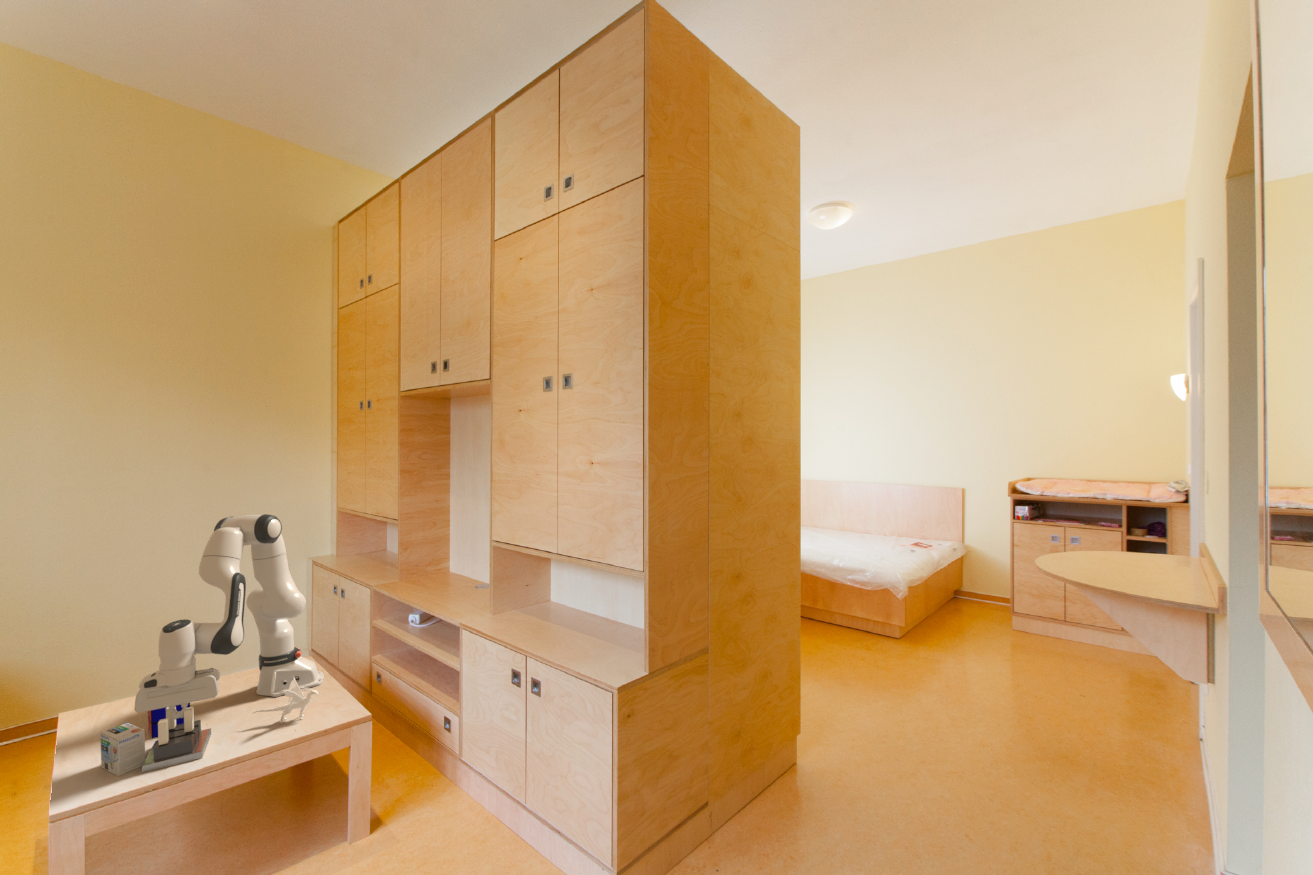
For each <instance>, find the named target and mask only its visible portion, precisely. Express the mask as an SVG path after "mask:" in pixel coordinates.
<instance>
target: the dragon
mask: <svg viewBox="0 0 1313 875" xmlns="http://www.w3.org/2000/svg"><path fill="white" fill-rule="evenodd" d="M301 688H304V689H300V688H299V686H298V684H297V682H296V680H295V678H294V679H293V680H292V682H291V684H290V687H289V690H286V692H285V695H284V696H285V697H288V698H289V699H288V702H286V703H285V704H282V705H279V706H276V707H271V708H270V707H269V708H264V709H259V710H258V709H257V710H255V711H253V712H252V713H251V715H252V714H254V713H255V714H256V713H263V712H264V713H268V712H280V711H283V712H282V713H281V716H280V722H281V723H286V721H287V720H288V718H287V717H285V716H287V715H289V714H290V713H291V712H292V711H293V709H300V711H299V716H298V718H299V719H300V720H303V719H304V717H305V715H304V714H303V713H304V710H305V707H307V705H308V704H309V703H311V699H312V696H313V695H317V696H319V694H320V693H319V692H318V691H317V690H315V689H312V688H305V687H301ZM303 691H304V692H307V691H308V692H307V694H306V696H305V695H304V693H303Z"/></svg>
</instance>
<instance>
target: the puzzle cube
mask: <svg viewBox="0 0 1313 875" xmlns="http://www.w3.org/2000/svg"><path fill="white" fill-rule="evenodd" d="M189 707H191V703H188V705H187V707H186V708H189ZM166 708H167V707H166ZM166 708H161V709H156V710H151V711H147V728H148V732H149V735H150V737H151V739H156V738H158V722H159V720H161V719H166ZM182 709H183V707H181V705H176V710H177V712H178V711H181V710H182ZM183 723H184V717H183V718H179V719H176V725H178V724H183Z"/></svg>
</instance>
